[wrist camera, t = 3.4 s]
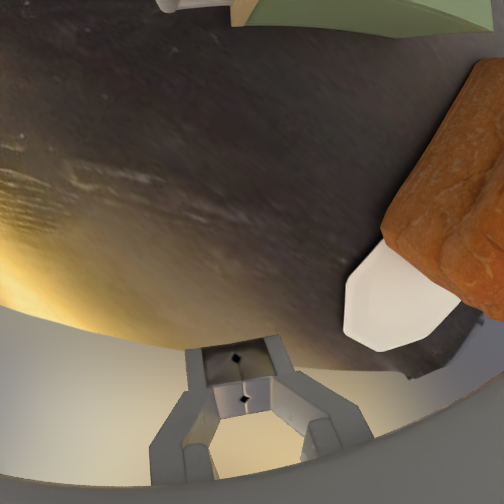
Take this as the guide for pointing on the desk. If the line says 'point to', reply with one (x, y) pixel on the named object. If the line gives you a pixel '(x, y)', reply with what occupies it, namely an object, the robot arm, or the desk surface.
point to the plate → (392, 301)
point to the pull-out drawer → (240, 5)
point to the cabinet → (378, 16)
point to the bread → (459, 198)
